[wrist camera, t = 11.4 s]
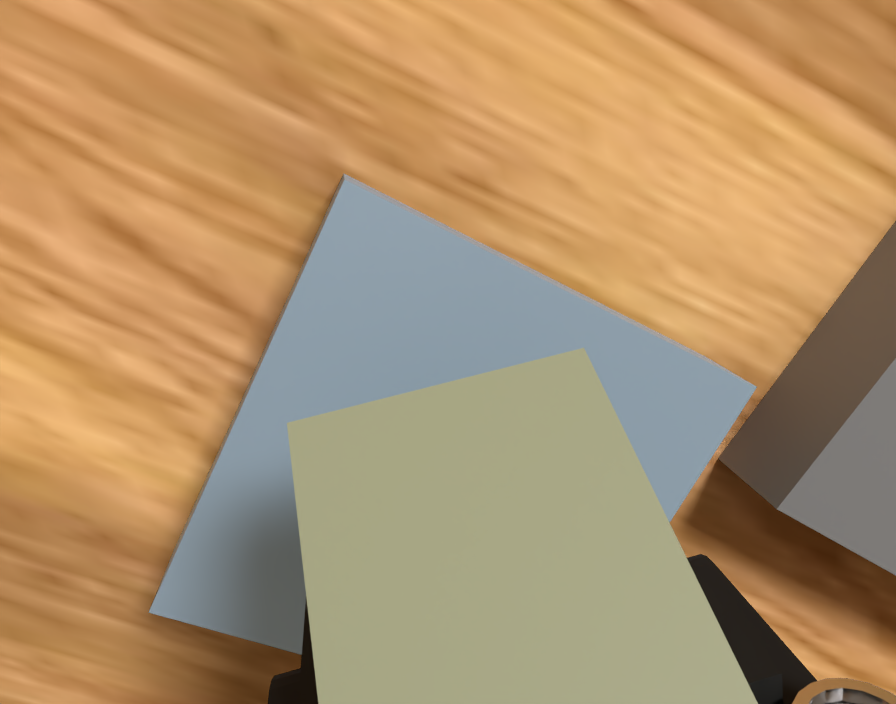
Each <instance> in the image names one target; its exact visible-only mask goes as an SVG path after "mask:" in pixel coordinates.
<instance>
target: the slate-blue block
mask: <svg viewBox="0 0 896 704" xmlns="http://www.w3.org/2000/svg"><path fill="white" fill-rule="evenodd" d="M581 348H584V349H585V351H586V353H587V355H588V357H589V359H590V361H591V363H592V365H593V367H594V369H595V371H596V373H597V375H598V378H599V380H600V382H601V384H602V386H603V388H604V390H605V392H606V394H607V396H608V398H609V400H610V402H611V404H612V406H613V408H614V410H615V412H616V414H617V416H618V418H619V420H620V423H621V425H622V427H623V429H624V431H625V433H626V435H627V437H628V439H629V441H630V443H631V445H632V447H633V449H634V451H635V453H636V455H637V457H638V459H639V461H640V463H641V465H642V468H643V470H644V472H645V474H646V476H647V478H648V480H649V482H650V484H651V486H652V488H653V490H654V492H655V494H656V496H657V498H658V500H659V502H660V504H661V506H662V508H663V510H664V513H665V515H666V517H667V519H668V521H669V523H670V521H671V520H672V518H673V516H674V515H675V513H676V512H677V510H678V509H679V507H680V506H681V504H682V503H683V501H684V499H685V498H686V496H687V495H688V493H689V492H690V490H691V489H692V487H693V485H694V484H695V482H696V481H697V479H698V478H699V476H700V475H701V473H702V471H703V470H704V468H705V467H706V465H707V464H708V462H709V461H710V459H711V458H712V456H713V454H714V453H715V451H716V450H717V448H718V447H719V445H720V444H721V442H722V440H723V439H724V437H725V436H726V434H727V433H728V431H729V430H730V428H731V426H732V425H733V423H734V422H735V420H736V419H737V417H738V416H739V414H740V413H741V411H742V409H743V408H744V406H745V405H746V403H747V402H748V400H749V399H750V397H751V395H752V394H753V392H754V391H755V389H756V388H757V387H756V386H754V385H753V384H751V383H749V382H748V381H746V380H744V379H742V378H741V377H739V376H737V375H736V374H734V373H732V372H731V371H729V370H727V369H725V368H724V367H722V366H720V365H719V364H717V363H715V362H714V361H712V360H710V359H709V358H707V357H705V356H703V355H701V354H699V353H697V352H695V351H693V350H691V349H689V348H687V347H685V346H684V345H682V344H680V343H678V342H676V341H674V340H672V339H670V338H668V337H666V336H664V335H662V334H660V333H658V332H656V331H654V330H652V329H650V328H648V327H646V326H644V325H642V324H640V323H638V322H636V321H634V320H632V319H630V318H628V317H626V316H624V315H622V314H620V313H618V312H616V311H614V310H612V309H610V308H608V307H606V306H605V305H603V304H601V303H599V302H597V301H595V300H593V299H591V298H589V297H587V296H585V295H583V294H581V293H579V292H577V291H575V290H573V289H571V288H569V287H567V286H565V285H563V284H561V283H559V282H557V281H555V280H553V279H551V278H549V277H547V276H545V275H543V274H541V273H539V272H537V271H535V270H533V269H531V268H529V267H527V266H525V265H524V264H522V263H520V262H518V261H516V260H514V259H512V258H510V257H508V256H506V255H504V254H502V253H500V252H498V251H496V250H494V249H492V248H490V247H488V246H486V245H484V244H482V243H480V242H478V241H476V240H474V239H472V238H470V237H468V236H466V235H464V234H462V233H460V232H458V231H456V230H454V229H452V228H450V227H448V226H446V225H445V224H443V223H441V222H439V221H437V220H435V219H433V218H431V217H429V216H427V215H425V214H423V213H421V212H419V211H417V210H415V209H413V208H411V207H409V206H407V205H405V204H403V203H401V202H399V201H397V200H395V199H393V198H391V197H389V196H387V195H385V194H383V193H381V192H379V191H377V190H375V189H373V188H371V187H369V186H367V185H366V184H364V183H362V182H360V181H358V180H356V179H354V178H352V177H350V176H348V175H346V174H343V176H342V179H341V181H340V183H339V185H338V187H337V190H336V192H335V194H334V196H333V198H332V201H331V203H330V205H329V207H328V210H327V212H326V214H325V216H324V218H323V221H322V223H321V225H320V227H319V230H318V232H317V234H316V236H315V238H314V241H313V243H312V245H311V247H310V249H309V252H308V254H307V256H306V258H305V261H304V263H303V265H302V267H301V269H300V272H299V274H298V276H297V278H296V280H295V283H294V285H293V287H292V289H291V292H290V294H289V296H288V298H287V300H286V303H285V305H284V307H283V309H282V312H281V314H280V316H279V318H278V320H277V323H276V325H275V327H274V329H273V331H272V334H271V336H270V338H269V340H268V343H267V345H266V347H265V349H264V351H263V354H262V356H261V358H260V360H259V362H258V365H257V367H256V369H255V371H254V374H253V376H252V378H251V380H250V382H249V385H248V387H247V389H246V391H245V394H244V396H243V398H242V400H241V402H240V405H239V407H238V409H237V411H236V413H235V416H234V418H233V420H232V422H231V425H230V427H229V429H228V431H227V433H226V436H225V438H224V440H223V442H222V445H221V447H220V449H219V451H218V453H217V456H216V458H215V460H214V462H213V464H212V467H211V469H210V471H209V473H208V476H207V478H206V480H205V482H204V484H203V487H202V489H201V491H200V493H199V495H198V498H197V500H196V502H195V504H194V507H193V509H192V511H191V513H190V515H189V518H188V520H187V522H186V524H185V527H184V529H183V531H182V533H181V535H180V538H179V540H178V542H177V544H176V546H175V549H174V551H173V554H172V556H171V559H170V561H169V564H168V566H167V568H166V571H165V573H164V576H163V578H162V581H161V583H160V586H159V588H158V591H157V593H156V596H155V598H154V601H153V603H152V605H151V608H150V610H149V613H152V614H156V615H159V616H163V617H167V618H170V619H174V620H178V621H181V622H185V623H188V624H192V625H196V626H199V627H203V628H206V629H210V630H214V631H217V632H221V633H225V634H228V635H232V636H235V637H239V638H243V639H246V640H250V641H253V642H257V643H261V644H264V645H268V646H272V647H275V648H279V649H282V650H286V651H290V652H293V653H297V654H301V655H302V645H303V631H304V617H305V603H306V589H305V580H304V571H303V562H302V553H301V544H300V536H299V527H298V518H297V509H296V500H295V491H294V482H293V473H292V464H291V456H290V447H289V438H288V429H287V423H288V422H292V421H296V420H300V419H304V418H308V417H312V416H316V415H320V414H324V413H328V412H332V411H336V410H340V409H344V408H348V407H351V406H355V405H359V404H363V403H367V402H371V401H375V400H379V399H383V398H387V397H391V396H395V395H399V394H403V393H407V392H411V391H415V390H419V389H423V388H427V387H431V386H435V385H438V384H442V383H446V382H450V381H454V380H458V379H462V378H466V377H470V376H474V375H478V374H482V373H486V372H490V371H494V370H498V369H502V368H506V367H510V366H514V365H518V364H522V363H525V362H529V361H533V360H537V359H541V358H545V357H549V356H553V355H557V354H561V353H565V352H569V351H573V350H577V349H581Z"/></svg>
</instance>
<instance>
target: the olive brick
mask: <svg viewBox="0 0 896 704" xmlns="http://www.w3.org/2000/svg"><path fill="white" fill-rule="evenodd" d="M287 429H288V438H289V447H290V456H291V464H292V473H293V482H294V491H295V500H296V509H297V518H298V527H299V536H300V544H301V553H302V562H303V571H304V580H305V589H306V598H307V607H308V616H309V624H310V633H311V642H312V651H313V660H314V669H315V678H316V687H317V696H318V704H758V703H757V701H756V699H755V697H754V695H753V693H752V690H751V688H750V686H749V684H748V682H747V680H746V678H745V676H744V674H743V672H742V670H741V668H740V666H739V664H738V662H737V660H736V658H735V656H734V654H733V652H732V650H731V648H730V645H729V643H728V641H727V639H726V637H725V635H724V633H723V631H722V629H721V627H720V625H719V623H718V621H717V619H716V617H715V615H714V613H713V611H712V609H711V607H710V605H709V603H708V600H707V598H706V596H705V594H704V592H703V590H702V588H701V586H700V584H699V582H698V580H697V578H696V576H695V574H694V572H693V570H692V568H691V566H690V564H689V562H688V560H687V558H686V555H685V553H684V551H683V549H682V547H681V545H680V543H679V541H678V539H677V537H676V535H675V533H674V531H673V529H672V527H671V525H670V523H669V521H668V519H667V517H666V515H665V513H664V510H663V508H662V506H661V504H660V502H659V500H658V498H657V496H656V494H655V492H654V490H653V488H652V486H651V484H650V482H649V480H648V478H647V476H646V474H645V472H644V470H643V468H642V465H641V463H640V461H639V459H638V457H637V455H636V453H635V451H634V449H633V447H632V445H631V443H630V441H629V439H628V437H627V435H626V433H625V431H624V429H623V427H622V425H621V423H620V420H619V418H618V416H617V414H616V412H615V410H614V408H613V406H612V404H611V402H610V400H609V398H608V396H607V394H606V392H605V390H604V388H603V386H602V384H601V382H600V380H599V378H598V375H597V373H596V371H595V369H594V367H593V365H592V363H591V361H590V359H589V357H588V355H587V353H586V351H585V349H584V348H581V349H577V350H573V351H569V352H565V353H561V354H557V355H553V356H549V357H545V358H541V359H537V360H533V361H529V362H525V363H522V364H518V365H514V366H510V367H506V368H502V369H498V370H494V371H490V372H486V373H482V374H478V375H474V376H470V377H466V378H462V379H458V380H454V381H450V382H446V383H442V384H438V385H435V386H431V387H427V388H423V389H419V390H415V391H411V392H407V393H403V394H399V395H395V396H391V397H387V398H383V399H379V400H375V401H371V402H367V403H363V404H359V405H355V406H351V407H348V408H344V409H340V410H336V411H332V412H328V413H324V414H320V415H316V416H312V417H308V418H304V419H300V420H296V421H292V422H288V423H287Z"/></svg>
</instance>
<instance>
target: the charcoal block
mask: <svg viewBox="0 0 896 704" xmlns="http://www.w3.org/2000/svg"><path fill="white" fill-rule="evenodd" d="M718 459H719V460H720V461H721V462H723V463H724V464H725V465H726V466H727V467H728V468H730V469H731V470H732V471H733V472H734V473H735V474H737V475H738V476H739V477H740V478H741V479H742V480H743V481H745V482H746V483H747V484H748V485H749V486H750V487H752V488H753V489H754V490H755V491H756V492H757V493H759V494H760V495H761V496H762V497H763V498H764V499H766V500H767V501H768V502H769V503H770V504H771V505H773V506H774V507H775V508H776V509H777V510H779V511H781V512H783V513H785V514H786V515H788V516H790V517H792V518H794V519H795V520H797V521H799V522H801V523H802V524H804V525H806V526H808V527H810V528H811V529H813V530H815V531H817V532H819V533H820V534H822V535H824V536H826V537H828V538H829V539H831V540H833V541H835V542H837V543H838V544H840V545H842V546H844V547H846V548H847V549H849V550H851V551H853V552H855V553H856V554H858V555H860V556H862V557H863V558H865V559H867V560H869V561H871V562H872V563H874V564H876V565H878V566H880V567H881V568H883V569H885V570H887V571H889V572H890V573H892V574H894V575H896V221H895V223H894V224H893V225H892V227H891V228H890V229H889V231H888V232H887V233H886V235H885V236H884V237H883V239H882V240H881V241H880V243H879V244H878V245H877V247H876V248H875V249H874V251H873V252H872V253H871V255H870V256H869V257H868V259H867V260H866V261H865V263H864V264H863V265H862V267H861V268H860V269H859V271H858V272H857V273H856V275H855V276H854V277H853V279H852V280H851V281H850V283H849V284H848V285H847V287H846V288H845V289H844V291H843V292H842V293H841V295H840V296H839V297H838V299H837V300H836V301H835V303H834V304H833V306H832V307H831V308H830V310H829V311H828V312H827V314H826V315H825V316H824V318H823V319H822V320H821V322H820V323H819V324H818V326H817V327H816V328H815V330H814V331H813V332H812V334H811V335H810V336H809V338H808V339H807V340H806V342H805V343H804V344H803V346H802V347H801V348H800V350H799V351H798V352H797V354H796V355H795V356H794V358H793V359H792V360H791V362H790V363H789V364H788V366H787V367H786V368H785V370H784V371H783V372H782V374H781V375H780V376H779V378H778V379H777V380H776V382H775V383H774V384H773V386H772V387H771V388H770V390H769V391H768V392H767V394H766V395H765V396H764V398H763V399H762V400H761V402H760V403H759V404H758V406H757V407H756V408H755V410H754V411H753V412H752V414H751V415H750V416H749V418H748V419H747V420H746V422H745V423H744V424H743V426H742V427H741V428H740V430H739V431H738V432H737V434H736V435H735V436H734V438H733V439H732V440H731V442H730V443H729V444H728V446H727V447H726V448H725V450H724V451H723V452H722V454H721V455H720V456H719V458H718Z"/></svg>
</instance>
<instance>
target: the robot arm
mask: <svg viewBox="0 0 896 704" xmlns="http://www.w3.org/2000/svg"><path fill="white" fill-rule="evenodd" d="M686 558H687V557H686ZM687 560H688V562H689V564H690V566H691V568H692V570H693V572H694V574H695V576H696V578H697V580H698V582H699V584H700V586H701V588H702V590H703V592H704V594H705V596H706V598H707V600H708V603H709V605H710V607H711V609H712V611H713V613H714V615H715V617H716V619H717V621H718V623H719V625H720V627H721V629H722V631H723V633H724V635H725V637H726V639H727V641H728V643H729V645H730V648H731V650H732V652H733V654H734V656H735V658H736V660H737V662H738V664H739V666H740V668H741V670H742V672H743V674H744V676H745V678H746V680H747V682H748V684H749V686H750V688H751V690H752V693H753V695H754V697H755V699H756V701H757V703H758V704H896V696H895V695H893V694H892V693H890V692H888V691H886V690H884V689H881V688H879V687H877V686H874V685H872V684H870V683H867V682H862V681H857V680H853V679H848V678H827V679H823V680H820V681H817V680H816V679H815V678H814V677H813V675H812V674H811V673H810V672H809V671H808V670H807V669H806V667H805V666H804V665H803V664H802V663H801V662H800V661H799V659H798V658H797V657H796V656H795V655H794V654H793V653H792V652H791V650H790V649H789V648H788V647H787V646H786V645H785V644H784V642H783V641H782V640H781V639H780V638H779V637H778V636H777V634H776V633H775V632H774V631H773V630H772V629H771V628H770V626H769V625H768V624H767V623H766V622H765V621H764V620H763V619H762V617H761V616H760V615H759V614H758V613H757V612H756V611H755V609H754V608H753V607H752V606H751V605H750V604H749V603H748V601H747V600H746V599H745V598H744V597H743V596H742V595H741V593H740V592H739V591H738V590H737V589H736V588H735V587H734V586H733V584H732V583H731V582H730V581H729V580H728V579H727V578H726V576H725V575H724V574H723V573H722V572H721V571H720V570H719V568H718V567H717V566H716V565H715V564H714V563H713V562H712V561H711V560H710V559H709V558H708V557H707V556H705V555H702V554H699V555H696V556H692V557H689V558H687ZM268 704H318V696H317V687H316V678H315V669H314V660H313V651H312V642H311V633H310V624H309V616H308V607H307V598H306V603H305V617H304V631H303V645H302V659H301V668H300V669H297V670H293V671H290V672H286V673H283V674H279V675H276V676H274V677H273V679H272V681H271V685H270V690H269V698H268Z"/></svg>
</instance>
